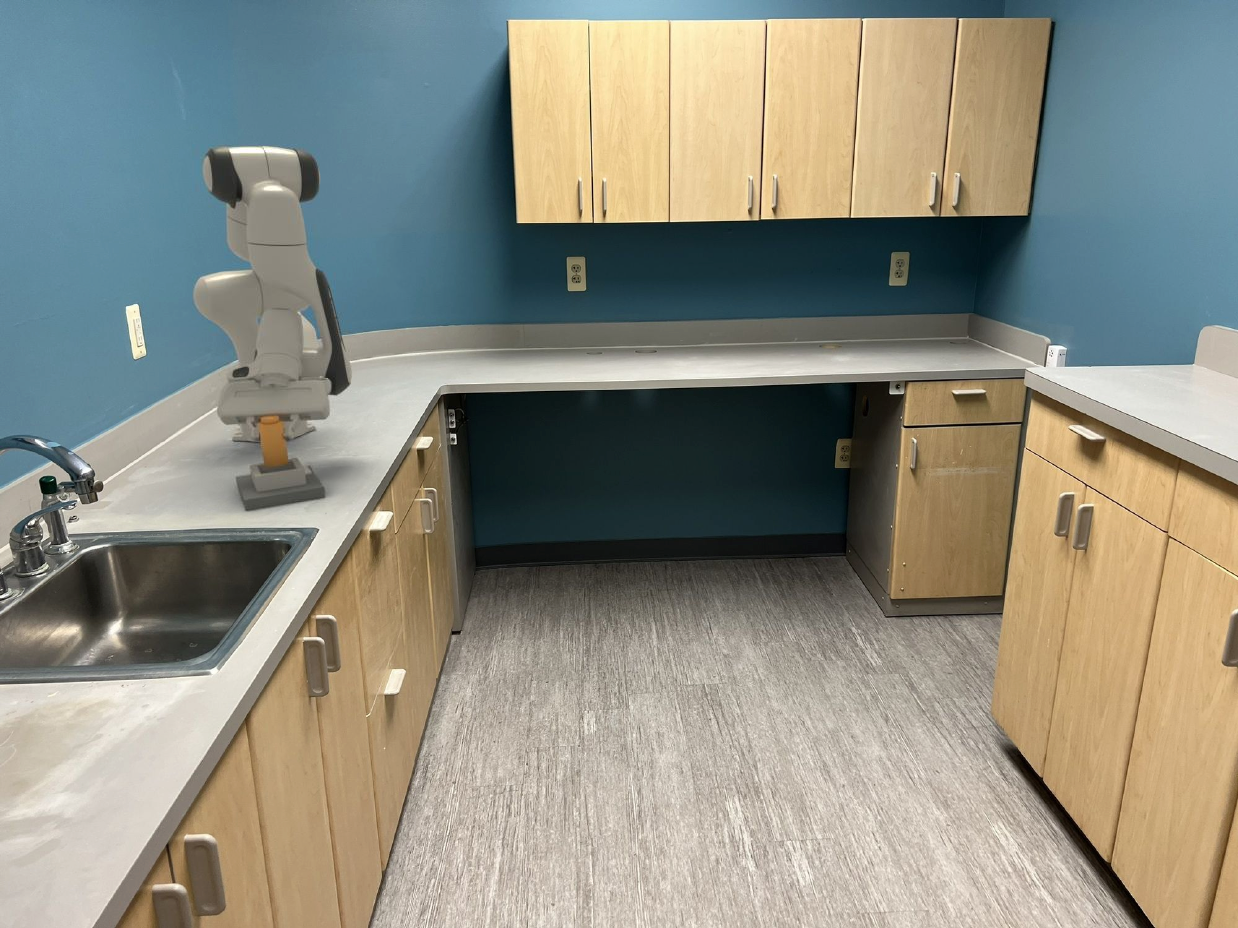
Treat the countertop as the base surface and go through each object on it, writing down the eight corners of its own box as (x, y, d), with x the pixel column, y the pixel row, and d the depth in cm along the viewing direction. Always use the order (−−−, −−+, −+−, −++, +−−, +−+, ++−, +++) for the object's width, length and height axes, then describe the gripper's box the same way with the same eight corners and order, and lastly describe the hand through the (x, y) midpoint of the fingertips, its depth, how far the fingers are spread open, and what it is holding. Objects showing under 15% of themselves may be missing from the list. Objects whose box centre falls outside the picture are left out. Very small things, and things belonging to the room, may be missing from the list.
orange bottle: (262, 462, 166) (256, 416, 163) (286, 458, 168) (280, 413, 165) (265, 467, 162) (258, 421, 160) (290, 464, 164) (283, 418, 161)
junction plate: (237, 486, 171) (233, 462, 169) (310, 474, 177) (307, 451, 176) (246, 510, 157) (241, 484, 156) (325, 496, 164) (322, 471, 162)
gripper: (335, 384, 174) (332, 444, 167) (228, 389, 171) (221, 450, 164) (328, 366, 168) (325, 427, 162) (218, 371, 165) (210, 433, 159)
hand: (272, 439), depth 163 cm, fingers closed on orange bottle, 4 cm apart
